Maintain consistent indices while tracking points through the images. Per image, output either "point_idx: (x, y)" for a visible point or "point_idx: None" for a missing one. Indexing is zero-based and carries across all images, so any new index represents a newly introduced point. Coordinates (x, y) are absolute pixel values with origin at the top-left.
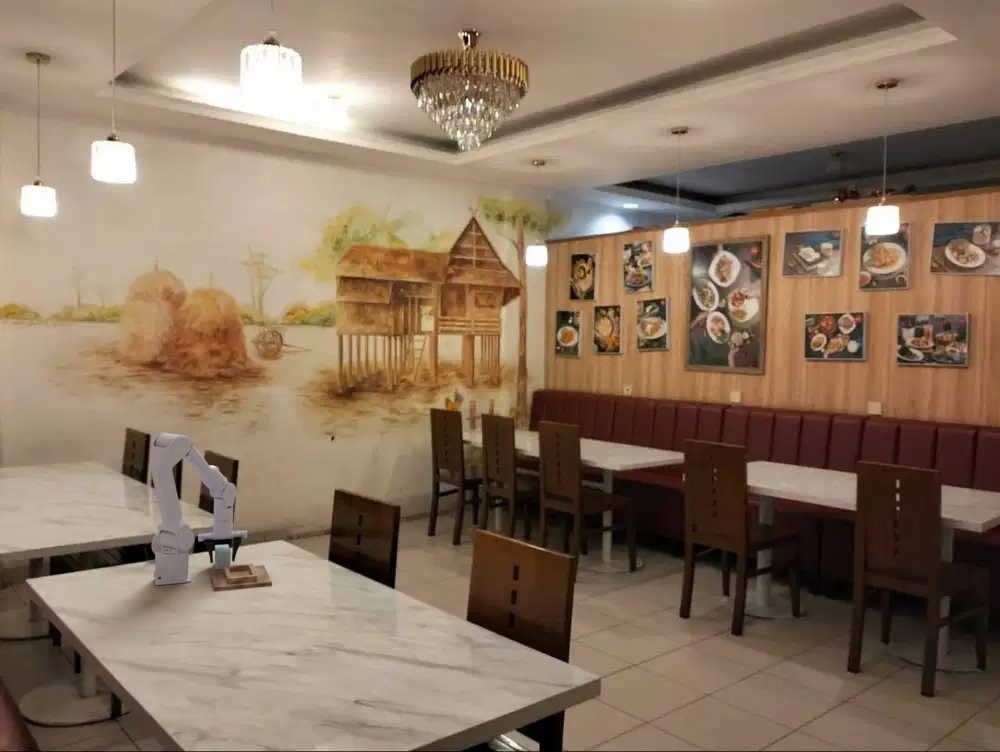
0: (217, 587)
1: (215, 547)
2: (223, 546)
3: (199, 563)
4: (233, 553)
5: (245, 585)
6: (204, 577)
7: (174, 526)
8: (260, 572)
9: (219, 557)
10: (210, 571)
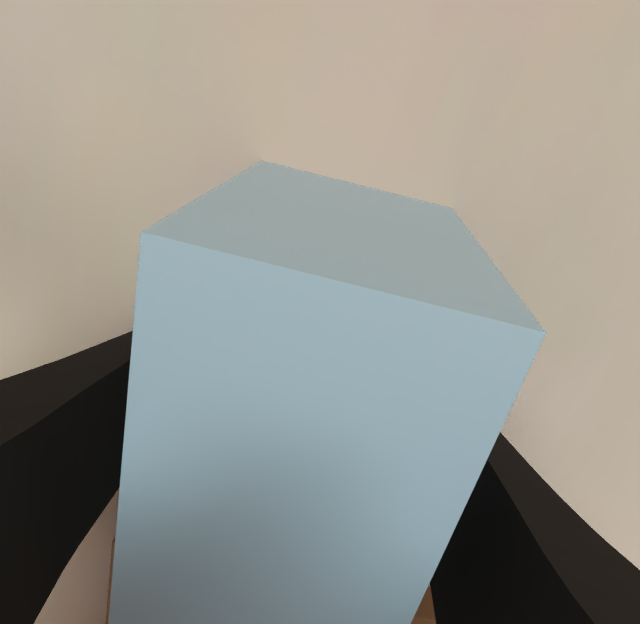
0: None
1: (134, 392)
2: (331, 466)
3: (46, 24)
4: (439, 616)
5: None
6: (64, 586)
7: None
8: None
9: None
10: (110, 574)
